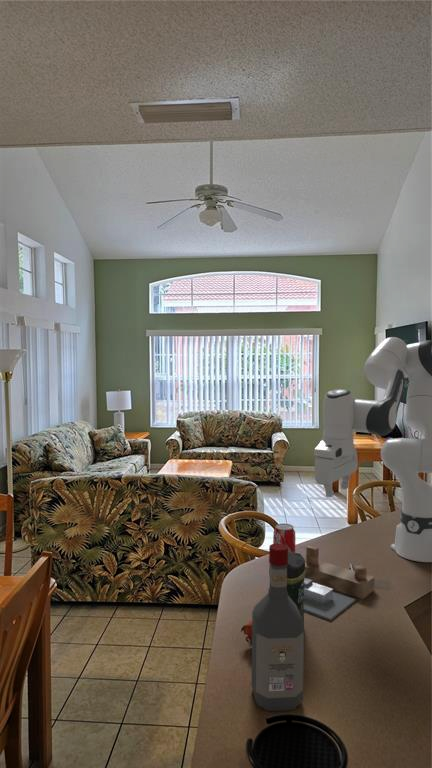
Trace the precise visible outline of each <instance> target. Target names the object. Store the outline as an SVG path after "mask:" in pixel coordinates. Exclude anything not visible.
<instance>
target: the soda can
mask: <svg viewBox="0 0 432 768" xmlns="http://www.w3.org/2000/svg"><path fill="white" fill-rule="evenodd" d="M294 528H295V527H294V526H293V524H290V523H278V524H276V525H275V528H274V530H273V535H272V536H273V541H272V544H284V545H286V546H288V551H290V552H294V553H296V530H295V529H294Z"/></svg>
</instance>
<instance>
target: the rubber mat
mask: <svg viewBox="0 0 432 768" xmlns="http://www.w3.org/2000/svg"><path fill="white" fill-rule="evenodd" d="M356 600H357V599H356V598H353V597H350V596H347V595H346V594H345V595H344V594H341V593H339V592H336V591H333V600H332V601H331V602H329V603H328V604H327V605H325V606H321V605H318V604H316V603H313V602H310V601H307V600H304V613H309V614H311V615H313V616H316V617H319V618H321V619H324V620H327V621H330V622H331V621H333V620H334V619H335V618H337V617H339V616H340V614H342V613H343V612H345V610H347V609H348V608H349V607H350V606H351V605H353V604H354V603H355V602H356Z"/></svg>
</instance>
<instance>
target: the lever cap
mask: <svg viewBox="0 0 432 768" xmlns="http://www.w3.org/2000/svg"><path fill="white" fill-rule="evenodd" d="M333 592H334V589H332V588H329V587H326V586H323V585H320V584H317V583H314V582H313V580H310V579H307V578H304V600H307V601H310V602H313V603H316V604H318V605H321V606H325V605H327V604H328V603H329V602H331V601H332V600H333Z"/></svg>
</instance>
